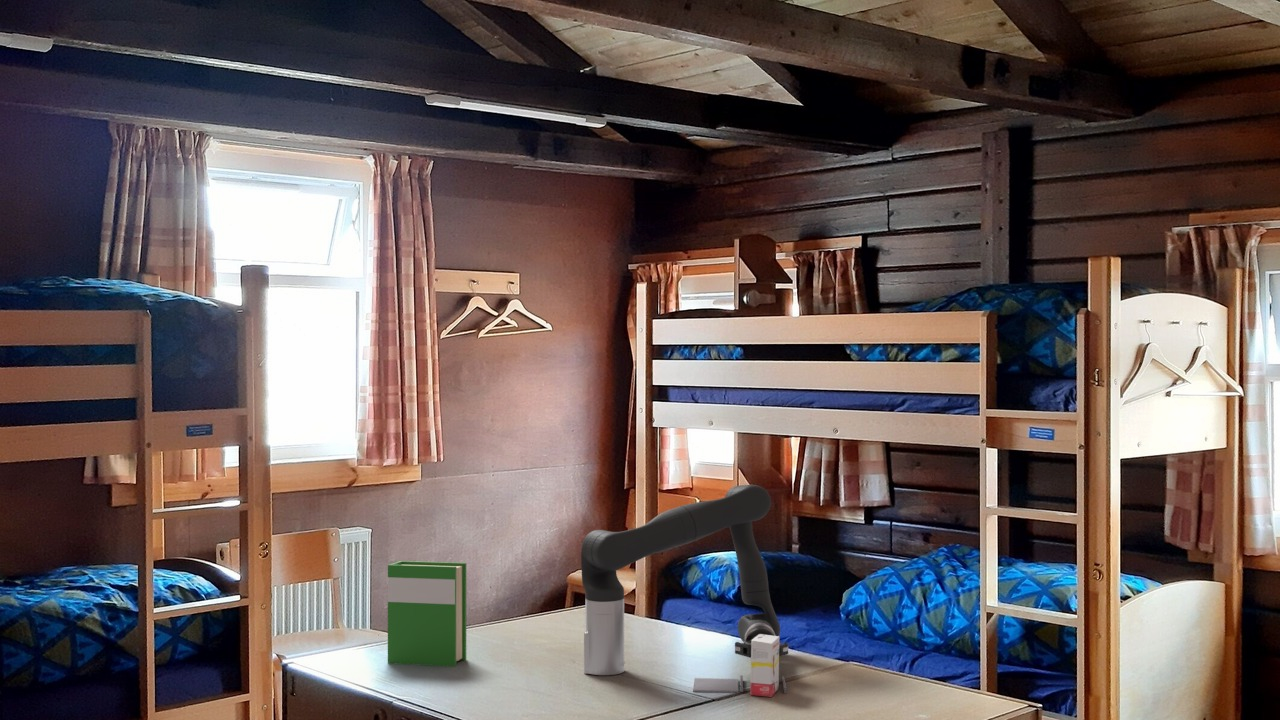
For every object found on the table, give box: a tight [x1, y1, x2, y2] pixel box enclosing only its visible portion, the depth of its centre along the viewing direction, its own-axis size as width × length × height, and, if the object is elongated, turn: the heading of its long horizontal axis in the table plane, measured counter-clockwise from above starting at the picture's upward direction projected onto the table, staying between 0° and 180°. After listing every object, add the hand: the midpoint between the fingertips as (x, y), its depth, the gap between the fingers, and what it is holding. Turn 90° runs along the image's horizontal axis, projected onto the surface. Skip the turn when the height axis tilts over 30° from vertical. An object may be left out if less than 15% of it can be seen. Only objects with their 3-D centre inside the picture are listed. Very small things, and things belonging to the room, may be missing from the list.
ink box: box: [750, 634, 780, 698], centre depth 263 cm, size 9×5×12 cm, turn 162°
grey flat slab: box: [692, 675, 787, 694], centre depth 268 cm, size 20×11×1 cm, turn 86°
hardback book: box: [387, 560, 467, 667], centre depth 295 cm, size 18×7×24 cm, turn 77°
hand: (762, 656), depth 268 cm, fingers closed
